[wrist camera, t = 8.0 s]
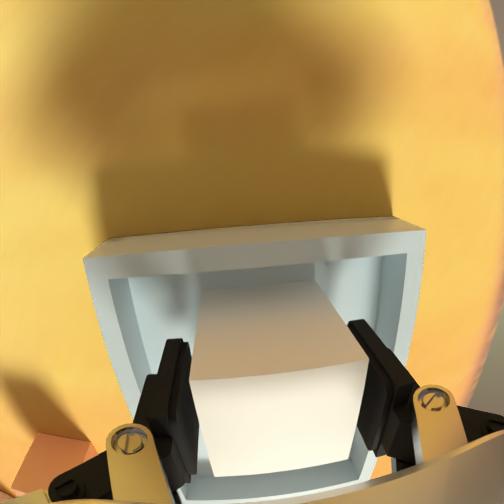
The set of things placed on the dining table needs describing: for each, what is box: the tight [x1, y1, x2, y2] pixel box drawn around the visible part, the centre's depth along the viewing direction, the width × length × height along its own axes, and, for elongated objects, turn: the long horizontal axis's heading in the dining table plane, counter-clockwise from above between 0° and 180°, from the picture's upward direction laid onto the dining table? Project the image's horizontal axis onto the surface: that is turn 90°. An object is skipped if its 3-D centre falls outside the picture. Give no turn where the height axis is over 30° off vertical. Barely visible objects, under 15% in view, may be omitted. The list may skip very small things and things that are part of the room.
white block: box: [189, 280, 369, 477], centre depth 11 cm, size 4×4×6 cm
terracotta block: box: [11, 432, 99, 496], centre depth 13 cm, size 4×4×6 cm
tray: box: [83, 216, 426, 504], centre depth 13 cm, size 16×12×3 cm
